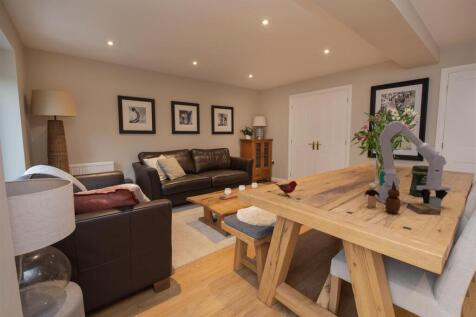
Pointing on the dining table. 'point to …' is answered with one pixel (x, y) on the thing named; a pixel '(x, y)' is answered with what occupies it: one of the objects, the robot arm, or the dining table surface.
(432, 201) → the slate cube
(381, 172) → the beverage can
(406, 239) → the dining table surface
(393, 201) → the wooden figurine
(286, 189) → the decorative bird figurine
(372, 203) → the grandmother figurine
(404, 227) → the dining table surface
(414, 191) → the coffee jar
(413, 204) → the walnut block
